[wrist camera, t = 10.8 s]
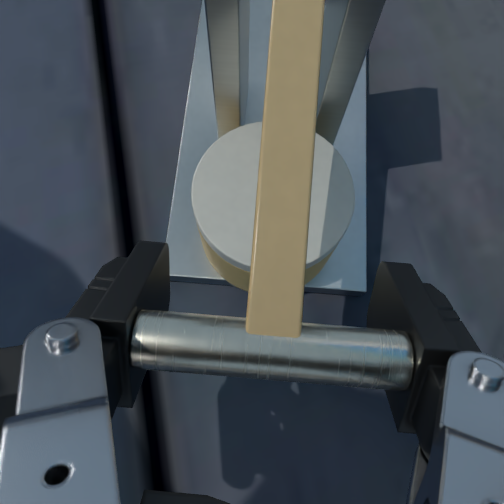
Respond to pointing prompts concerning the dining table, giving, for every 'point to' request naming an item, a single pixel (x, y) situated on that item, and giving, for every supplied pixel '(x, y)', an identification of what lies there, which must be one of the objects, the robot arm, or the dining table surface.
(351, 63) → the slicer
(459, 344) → the robot arm
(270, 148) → the wood and metal t-shape
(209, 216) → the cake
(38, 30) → the dining table surface
